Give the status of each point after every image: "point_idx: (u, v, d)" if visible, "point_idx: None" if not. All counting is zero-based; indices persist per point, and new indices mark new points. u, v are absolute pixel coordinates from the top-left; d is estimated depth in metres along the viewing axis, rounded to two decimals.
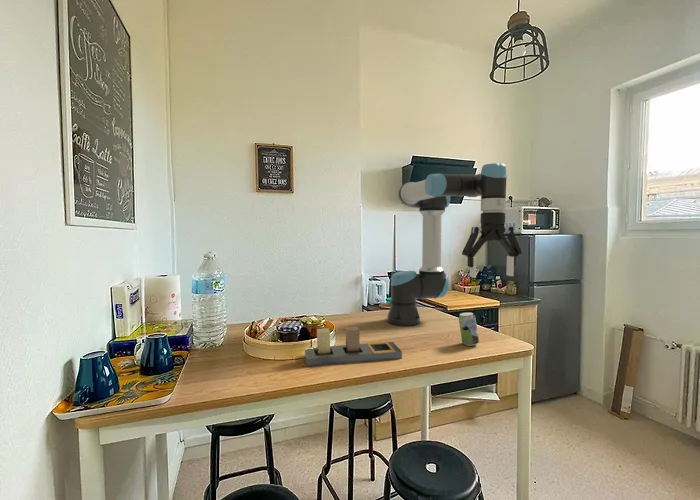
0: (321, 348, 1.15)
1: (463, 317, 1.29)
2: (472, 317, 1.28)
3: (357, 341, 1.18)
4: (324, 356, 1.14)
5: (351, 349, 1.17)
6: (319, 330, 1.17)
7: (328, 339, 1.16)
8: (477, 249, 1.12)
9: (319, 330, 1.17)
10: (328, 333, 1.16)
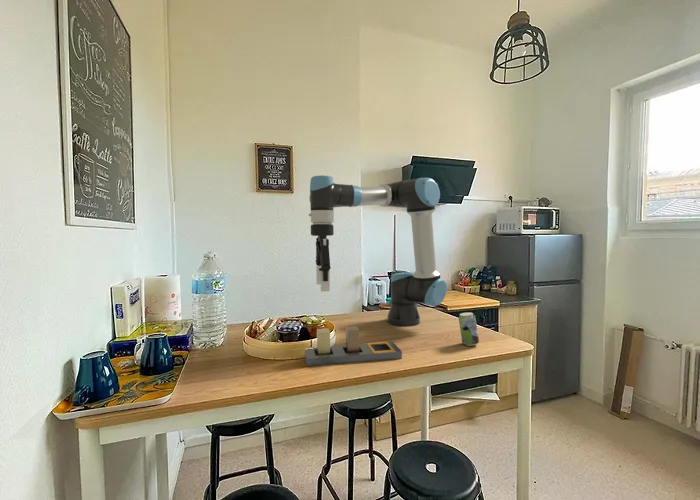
0: (321, 348, 1.15)
1: (463, 317, 1.29)
2: (472, 317, 1.28)
3: (357, 341, 1.18)
4: (324, 356, 1.14)
5: (351, 349, 1.17)
6: (319, 330, 1.17)
7: (328, 339, 1.16)
8: (317, 258, 1.21)
9: (319, 330, 1.17)
10: (328, 333, 1.15)
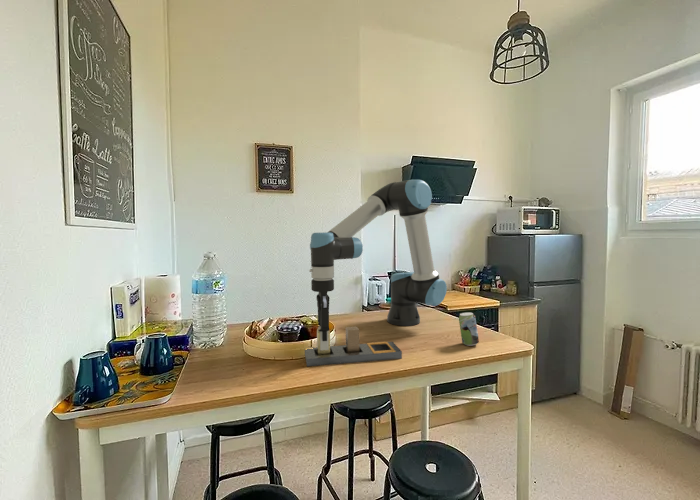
0: None
1: (463, 317, 1.29)
2: (472, 317, 1.28)
3: (357, 341, 1.18)
4: (324, 356, 1.14)
5: (351, 349, 1.17)
6: None
7: (328, 339, 1.16)
8: (318, 317, 1.19)
9: None
10: (328, 333, 1.16)
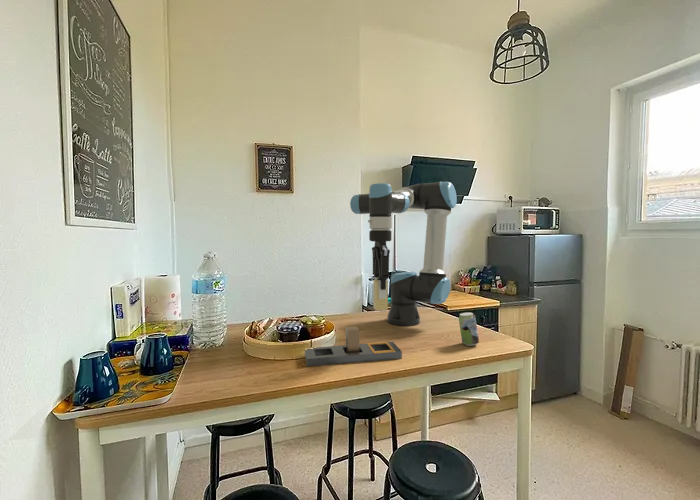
0: None
1: (463, 317, 1.29)
2: (472, 317, 1.28)
3: (357, 341, 1.18)
4: (324, 356, 1.14)
5: (351, 349, 1.17)
6: (376, 280, 1.20)
7: None
8: (374, 268, 1.22)
9: (377, 280, 1.20)
10: None
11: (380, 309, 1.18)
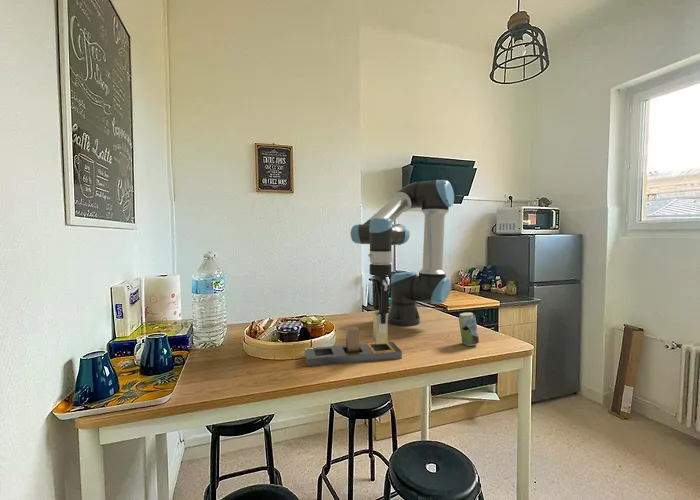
0: None
1: (463, 317, 1.29)
2: (472, 317, 1.28)
3: (357, 341, 1.18)
4: (324, 356, 1.14)
5: (351, 349, 1.17)
6: (376, 313, 1.20)
7: (386, 322, 1.19)
8: (375, 301, 1.23)
9: None
10: (386, 316, 1.19)
11: (380, 342, 1.19)
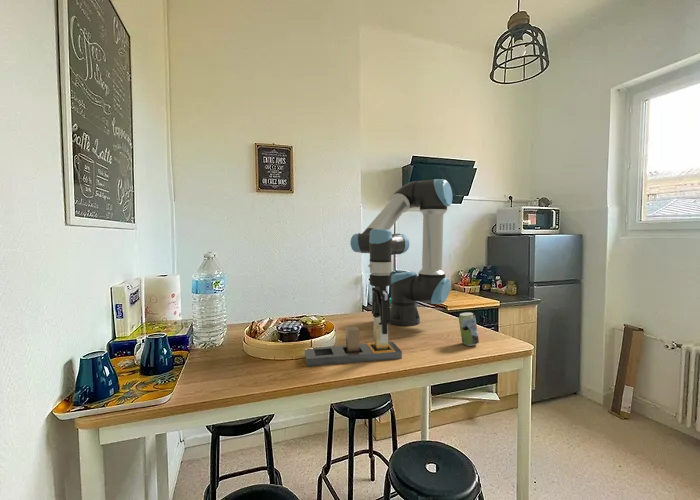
0: (379, 343, 1.19)
1: (463, 317, 1.29)
2: (472, 317, 1.28)
3: (357, 341, 1.18)
4: (324, 356, 1.14)
5: (351, 349, 1.17)
6: (376, 326, 1.21)
7: None
8: (374, 309, 1.24)
9: (377, 326, 1.21)
10: None
11: None
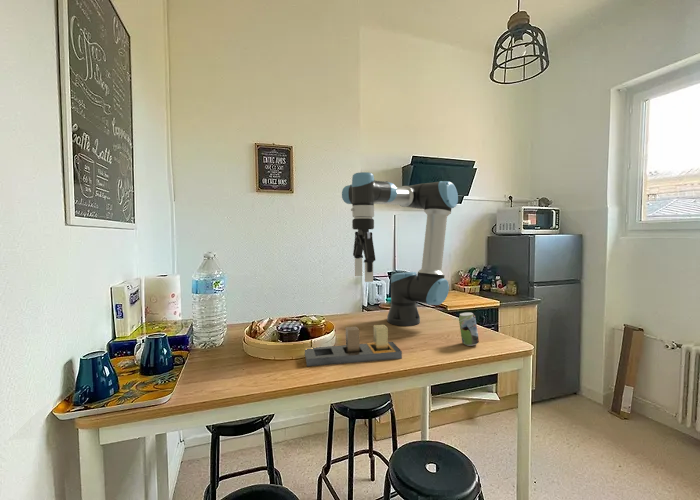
0: (379, 343, 1.19)
1: (463, 317, 1.29)
2: (472, 317, 1.28)
3: (357, 341, 1.18)
4: (324, 356, 1.14)
5: (351, 349, 1.17)
6: (376, 326, 1.21)
7: (386, 335, 1.19)
8: (355, 251, 1.27)
9: (377, 326, 1.21)
10: (386, 329, 1.19)
11: None
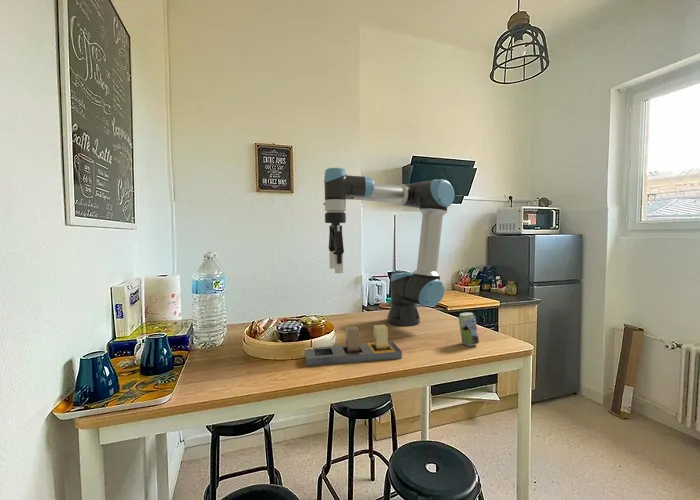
0: (379, 343, 1.19)
1: (463, 317, 1.29)
2: (472, 317, 1.28)
3: (357, 341, 1.18)
4: (324, 356, 1.14)
5: (351, 349, 1.17)
6: (376, 326, 1.21)
7: (386, 335, 1.19)
8: (330, 244, 1.32)
9: (377, 326, 1.21)
10: (386, 329, 1.19)
11: None
